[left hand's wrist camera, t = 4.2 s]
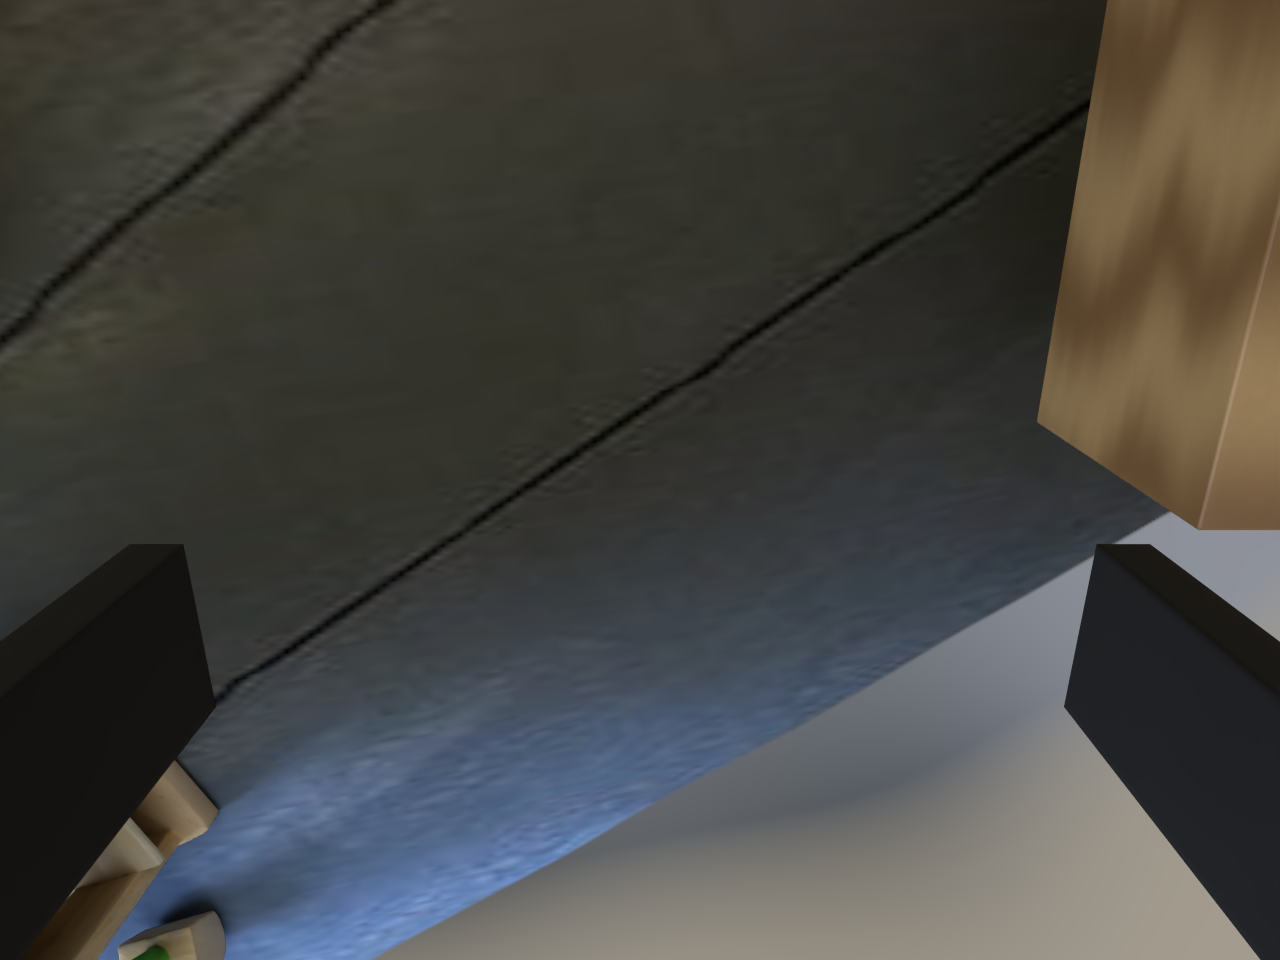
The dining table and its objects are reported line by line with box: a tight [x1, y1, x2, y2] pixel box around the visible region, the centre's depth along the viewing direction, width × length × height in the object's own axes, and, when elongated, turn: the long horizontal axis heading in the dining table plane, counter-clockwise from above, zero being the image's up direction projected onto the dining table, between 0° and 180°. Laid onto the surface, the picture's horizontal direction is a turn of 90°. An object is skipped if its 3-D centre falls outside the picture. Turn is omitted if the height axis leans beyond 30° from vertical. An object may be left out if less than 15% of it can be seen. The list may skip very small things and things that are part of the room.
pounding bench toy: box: [20, 760, 226, 960], centre depth 45 cm, size 23×14×18 cm, turn 28°
